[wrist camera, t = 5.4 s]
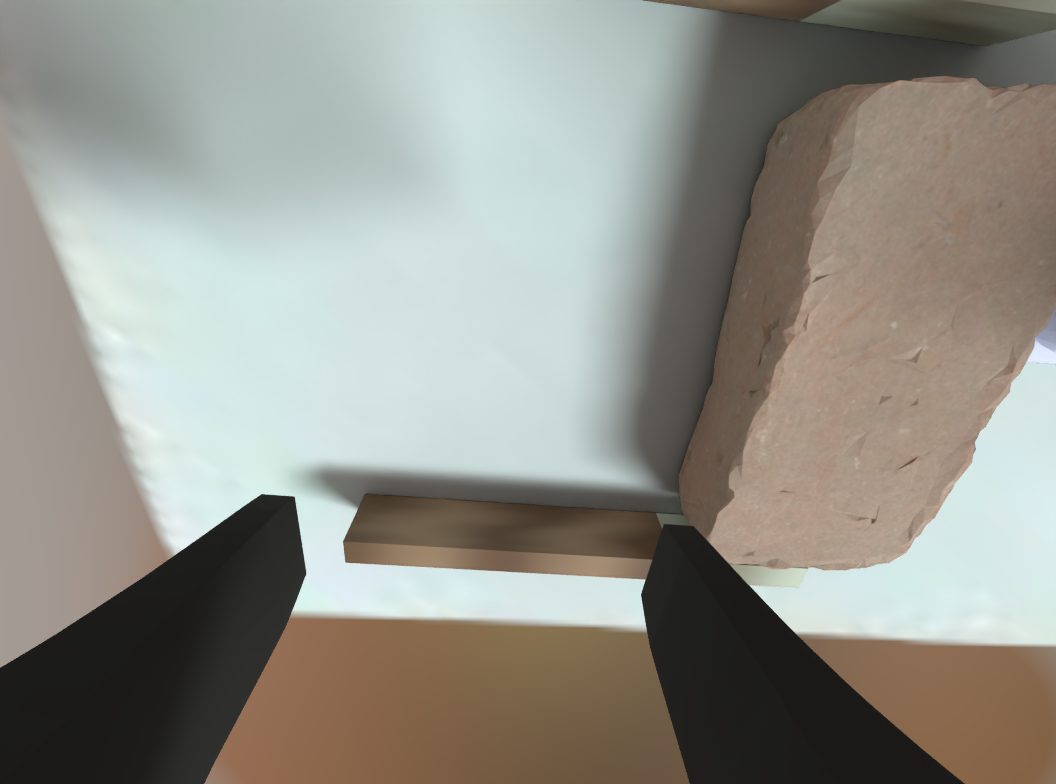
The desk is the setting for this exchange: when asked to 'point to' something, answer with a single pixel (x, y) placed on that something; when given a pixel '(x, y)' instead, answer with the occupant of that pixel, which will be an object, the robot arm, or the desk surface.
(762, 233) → the brick
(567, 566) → the lane
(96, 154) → the desk surface
